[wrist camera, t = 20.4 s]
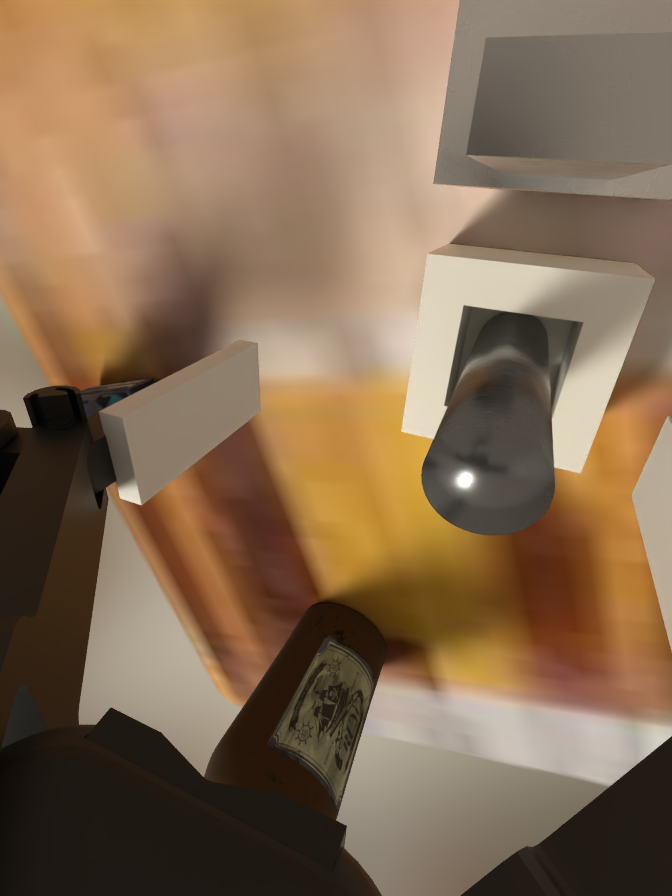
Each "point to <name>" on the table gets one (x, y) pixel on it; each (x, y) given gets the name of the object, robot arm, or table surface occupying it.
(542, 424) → the smooth metal cylinder
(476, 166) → the grey post stand
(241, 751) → the olive oil
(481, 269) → the cream square block
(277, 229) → the table surface
